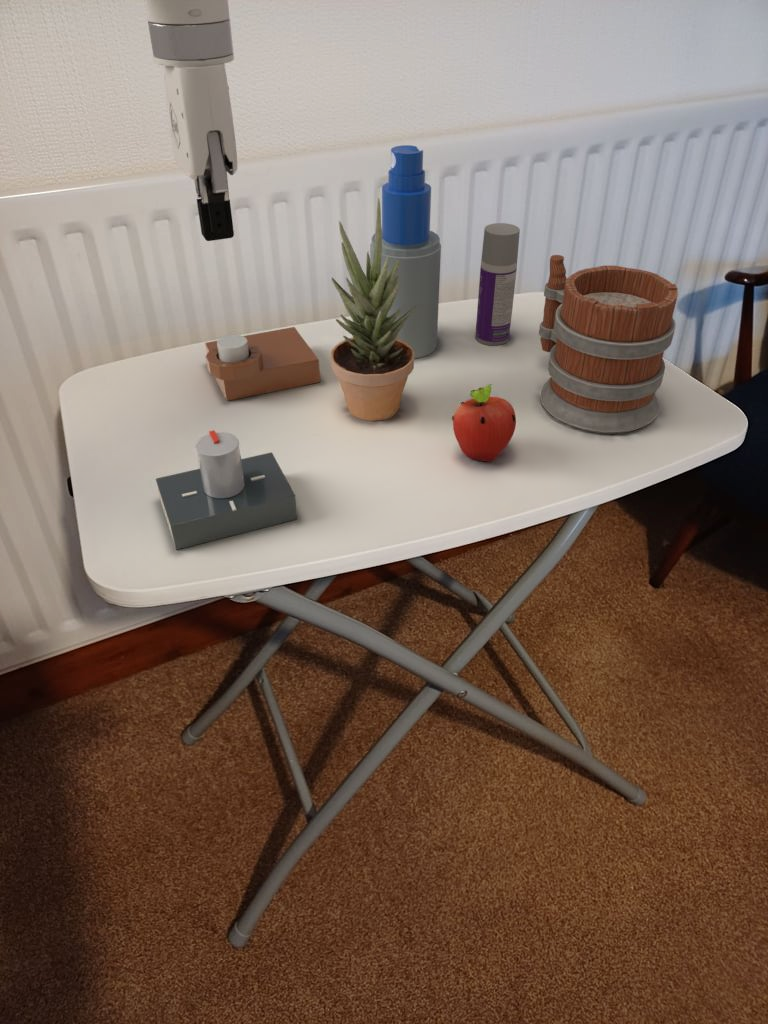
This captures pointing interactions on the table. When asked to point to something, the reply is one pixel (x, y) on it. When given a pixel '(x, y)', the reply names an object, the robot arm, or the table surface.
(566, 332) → the mug
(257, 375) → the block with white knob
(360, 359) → the potted plant
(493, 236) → the container
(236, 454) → the tap knob
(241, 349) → the white cylindrical plug
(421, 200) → the spray bottle
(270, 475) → the panel
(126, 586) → the table surface
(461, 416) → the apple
